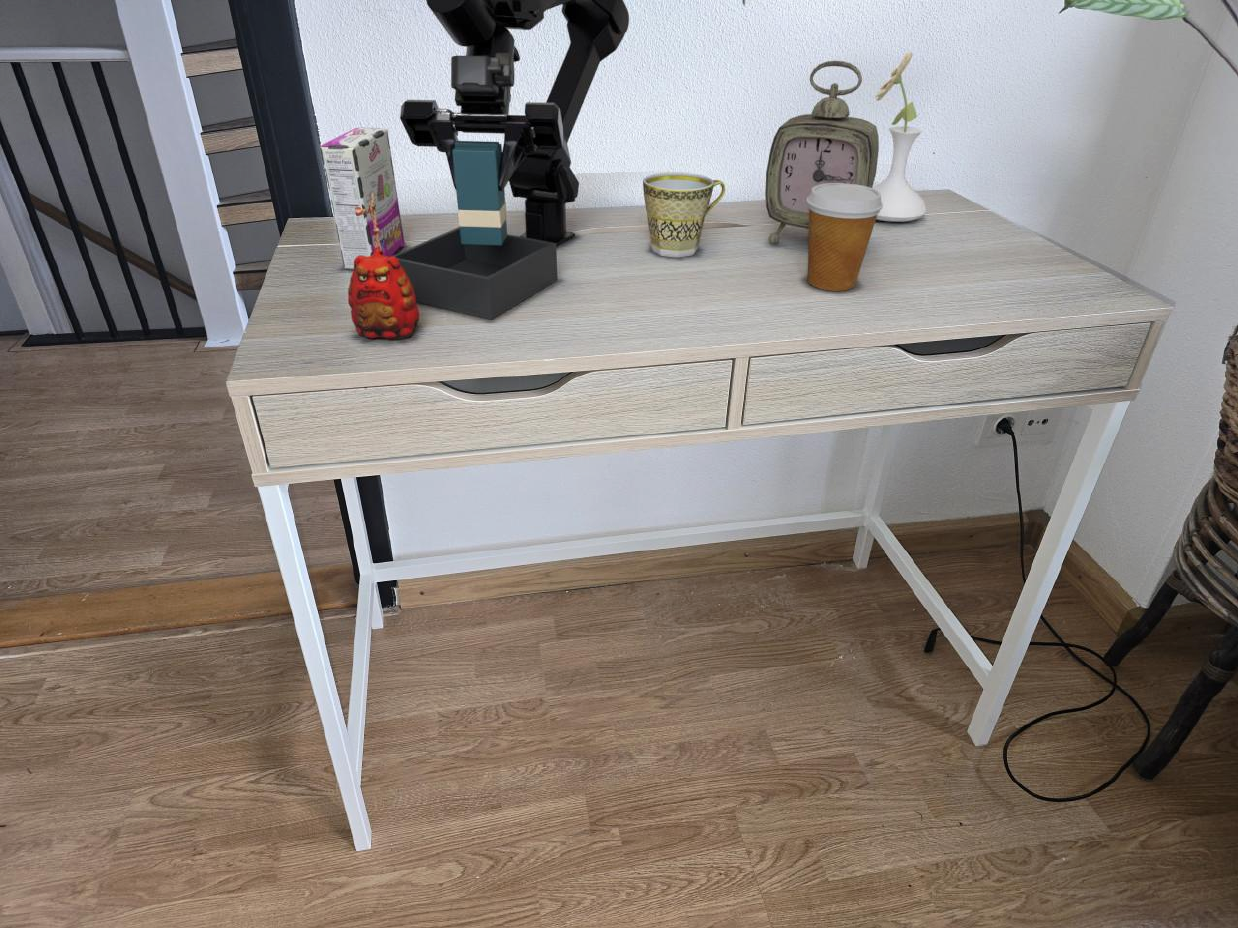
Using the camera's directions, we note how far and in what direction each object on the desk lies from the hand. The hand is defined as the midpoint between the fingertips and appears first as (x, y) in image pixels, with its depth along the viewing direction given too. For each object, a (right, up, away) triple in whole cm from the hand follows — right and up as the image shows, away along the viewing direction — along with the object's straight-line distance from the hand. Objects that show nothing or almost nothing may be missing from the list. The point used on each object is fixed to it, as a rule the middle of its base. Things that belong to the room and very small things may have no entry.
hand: (477, 188), depth 96 cm
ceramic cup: (+26, -1, +24) cm, 36 cm away
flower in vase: (+61, +8, +39) cm, 73 cm away
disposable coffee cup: (+45, -8, +13) cm, 48 cm away
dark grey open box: (-2, -10, +10) cm, 14 cm away
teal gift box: (0, -5, +5) cm, 7 cm away
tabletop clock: (+46, +1, +27) cm, 53 cm away
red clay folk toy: (-10, -17, -2) cm, 20 cm away
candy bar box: (-18, -3, +19) cm, 27 cm away
